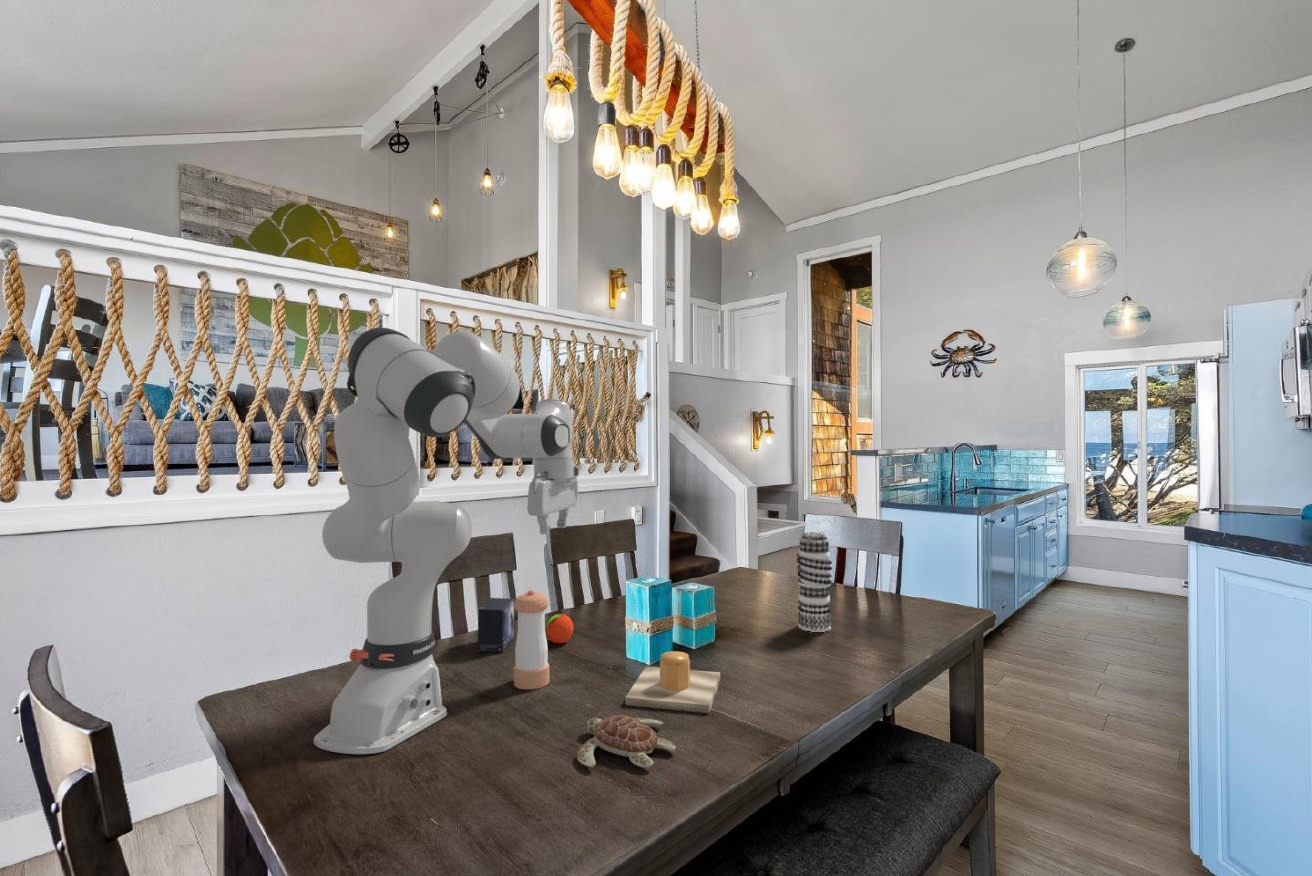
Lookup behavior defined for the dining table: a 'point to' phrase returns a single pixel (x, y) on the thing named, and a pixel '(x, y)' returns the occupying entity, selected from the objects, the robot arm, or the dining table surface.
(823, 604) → the decorative candle
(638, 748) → the decorative turtle
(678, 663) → the tan rounded cylinder
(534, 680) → the salt shaker
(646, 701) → the square peg board
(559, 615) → the clementine
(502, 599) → the small box
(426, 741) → the dining table surface
